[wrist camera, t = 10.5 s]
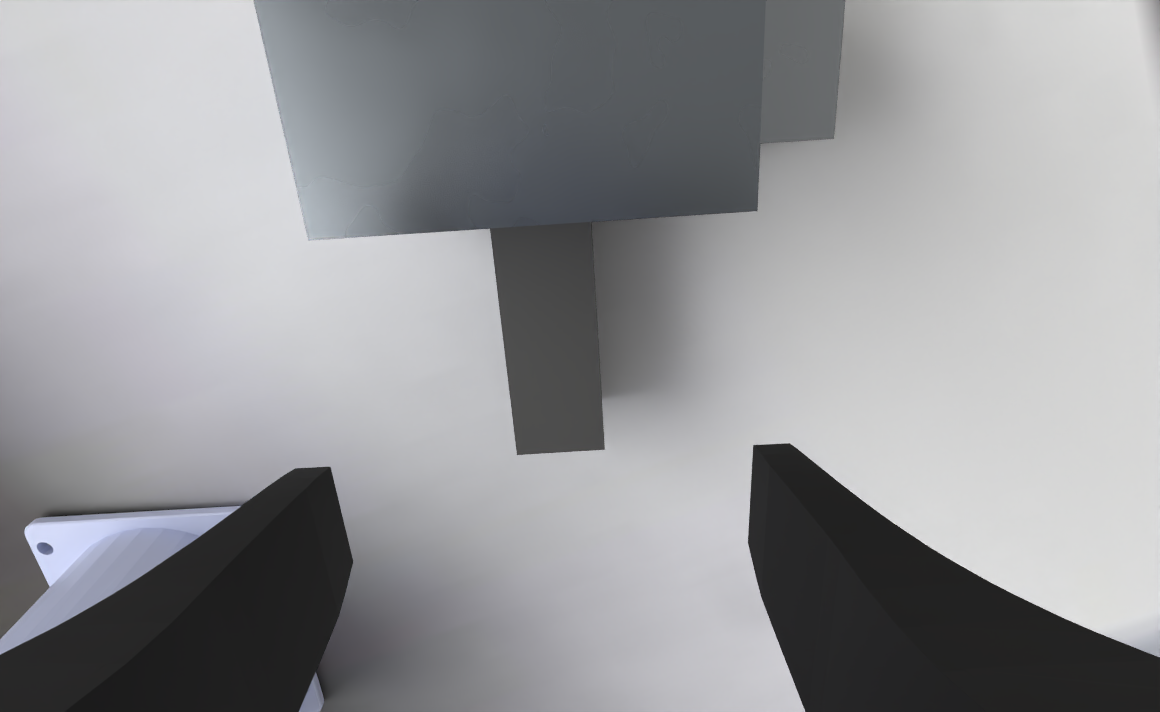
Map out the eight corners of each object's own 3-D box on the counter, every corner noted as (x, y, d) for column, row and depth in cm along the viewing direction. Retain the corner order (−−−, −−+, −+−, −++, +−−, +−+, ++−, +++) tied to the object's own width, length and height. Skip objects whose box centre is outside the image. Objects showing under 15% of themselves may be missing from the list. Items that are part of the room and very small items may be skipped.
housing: (780, 157, 19) (860, 204, 14) (381, 184, 19) (308, 240, 14) (791, -57, 17) (891, -100, 12) (344, -25, 17) (241, -52, 12)
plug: (626, 396, 22) (635, 459, 19) (498, 404, 22) (485, 468, 19) (596, -299, 15) (602, -394, 12) (410, -285, 15) (365, -375, 12)
